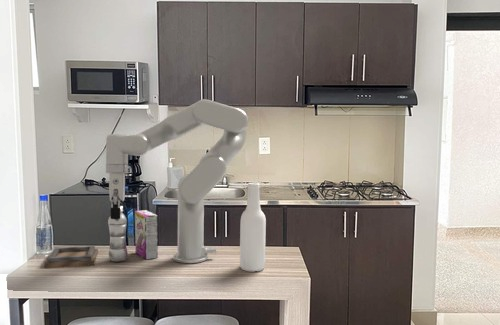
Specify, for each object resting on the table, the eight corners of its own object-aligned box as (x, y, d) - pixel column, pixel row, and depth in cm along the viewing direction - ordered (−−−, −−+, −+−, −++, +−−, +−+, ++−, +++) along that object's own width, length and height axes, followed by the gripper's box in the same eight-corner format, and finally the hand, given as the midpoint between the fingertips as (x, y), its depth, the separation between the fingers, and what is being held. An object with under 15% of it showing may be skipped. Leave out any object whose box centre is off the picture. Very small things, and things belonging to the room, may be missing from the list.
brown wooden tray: (97, 252, 176) (97, 244, 176) (93, 265, 161) (93, 256, 160) (53, 254, 173) (53, 246, 172) (44, 267, 157) (44, 259, 157)
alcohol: (263, 273, 156) (265, 185, 153) (237, 271, 157) (239, 184, 154) (266, 265, 164) (267, 182, 162) (241, 263, 166) (243, 181, 163)
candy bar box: (134, 252, 177) (134, 210, 175) (146, 251, 180) (146, 209, 178) (145, 260, 168) (145, 216, 166) (158, 258, 170) (158, 214, 169)
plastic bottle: (122, 264, 163) (122, 208, 161) (105, 262, 164) (104, 207, 162) (130, 258, 169) (130, 205, 167) (113, 257, 170) (113, 204, 169)
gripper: (127, 171, 156) (126, 221, 157) (128, 166, 173) (127, 211, 174) (104, 171, 154) (103, 221, 156) (107, 166, 171) (106, 211, 172)
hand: (116, 216), depth 165 cm, fingers open, 9 cm apart
